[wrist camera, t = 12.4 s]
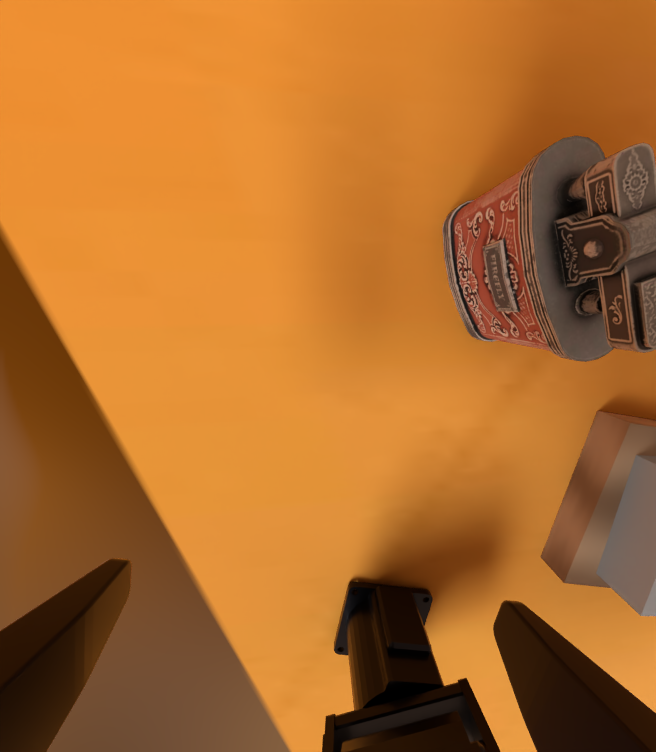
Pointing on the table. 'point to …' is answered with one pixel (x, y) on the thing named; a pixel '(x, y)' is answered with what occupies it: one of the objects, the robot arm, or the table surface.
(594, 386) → the table surface
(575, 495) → the base block
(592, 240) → the lighter
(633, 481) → the top block
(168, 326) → the table surface
